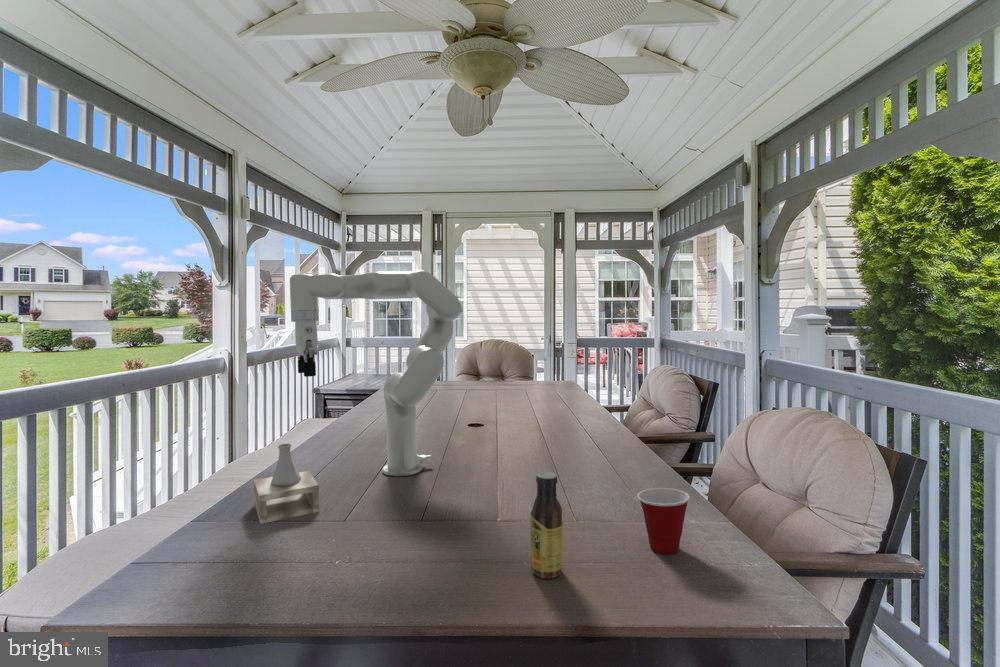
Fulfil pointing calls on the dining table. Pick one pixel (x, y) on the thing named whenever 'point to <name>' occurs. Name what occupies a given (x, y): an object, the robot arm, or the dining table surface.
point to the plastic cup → (664, 517)
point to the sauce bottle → (546, 528)
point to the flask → (285, 468)
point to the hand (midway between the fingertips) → (306, 374)
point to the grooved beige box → (286, 498)
